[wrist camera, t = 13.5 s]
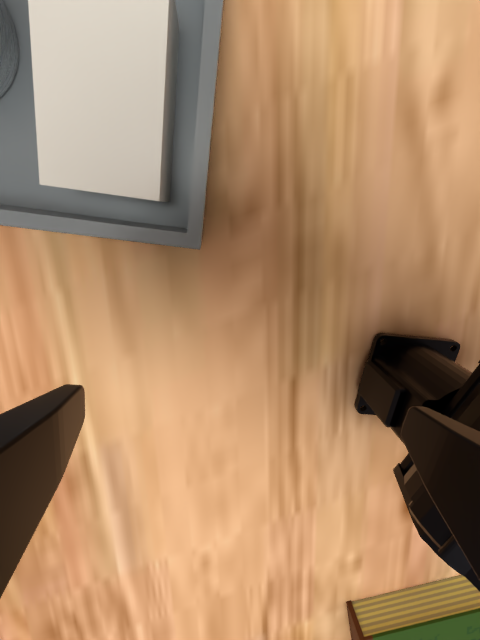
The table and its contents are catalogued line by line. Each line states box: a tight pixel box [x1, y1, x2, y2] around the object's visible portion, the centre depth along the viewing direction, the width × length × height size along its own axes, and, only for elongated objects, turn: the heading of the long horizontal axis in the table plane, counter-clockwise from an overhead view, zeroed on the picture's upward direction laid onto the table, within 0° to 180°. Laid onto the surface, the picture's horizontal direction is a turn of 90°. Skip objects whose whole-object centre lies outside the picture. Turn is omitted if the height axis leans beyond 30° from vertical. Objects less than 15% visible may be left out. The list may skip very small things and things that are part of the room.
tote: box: [0, 0, 224, 250], centre depth 14 cm, size 18×14×4 cm
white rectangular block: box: [28, 0, 179, 202], centre depth 15 cm, size 5×8×4 cm, turn 172°
